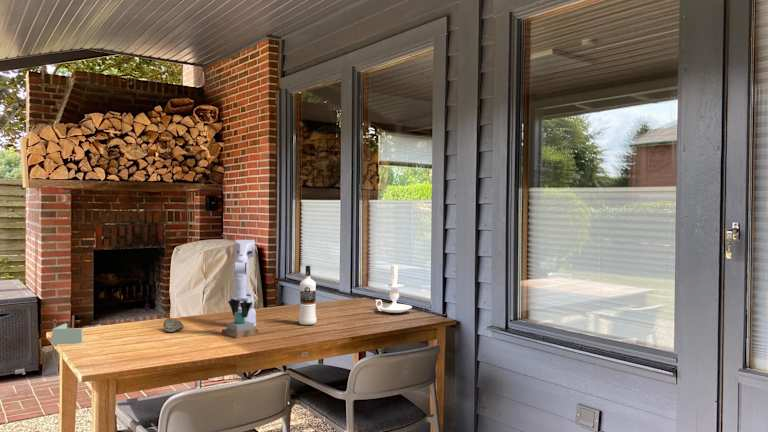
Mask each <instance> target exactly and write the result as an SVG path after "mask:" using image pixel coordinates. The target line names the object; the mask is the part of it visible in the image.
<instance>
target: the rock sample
mask: <svg viewBox="0 0 768 432" xmlns="http://www.w3.org/2000/svg"><path fill="white" fill-rule="evenodd" d="M184 328H185V327H184V324H182V321H180V320H178V319H173V318H171V317H167V318H166V319H165V320H164V322H163V329H164V331H166V332H169V333H172V332H173V333H174V332H179V331H181V330H183V329H184Z"/></svg>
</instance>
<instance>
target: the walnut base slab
mask: <svg viewBox="0 0 768 432" xmlns="http://www.w3.org/2000/svg"><path fill="white" fill-rule="evenodd" d="M221 335H222V336H225V337H226V336H227V337H230V338H235V339H240V338H245V337H246V338H247V337H249V336H255V335H259V329H258V328H255V327H254V330H247V331H241V332H235V331H231V330H228V329H227V328H223V329H221Z"/></svg>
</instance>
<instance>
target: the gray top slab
mask: <svg viewBox="0 0 768 432" xmlns="http://www.w3.org/2000/svg"><path fill="white" fill-rule="evenodd" d="M254 328H255V326H254V323H251V322H247V321H245V323H244V324H235V323H234V321H232V322H231V321H230V322H226V329H228V330H231V331H235V332H241V331H247V330H254Z"/></svg>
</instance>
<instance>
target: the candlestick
mask: <svg viewBox="0 0 768 432" xmlns="http://www.w3.org/2000/svg"><path fill="white" fill-rule="evenodd" d="M390 268H391V276H390V277H391V280H390V282H391V283H387V284H384V286H385V287H386V288H387V287H388V288H390V289H391V290H390V292H389V299H390V300H391V301H392V302H391V303H383V301H382V299H375V307H376V308H377V311H379V312H384V313H390V314H400V313H405V312H407V311H409V310H410V309H412V308H413V306H412V305H409V304H404V303H403V304H402V303H397V301H398V299H399V298H400V293H399V291H398V288H402V287H404V286H405V284H399V283H398V278H399V277H398V276H399V275H398V274H399V272H398V271H399V270H398V269H399V266H398V264H392V265H391V267H390ZM378 302H380V304H379V305H378Z"/></svg>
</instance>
